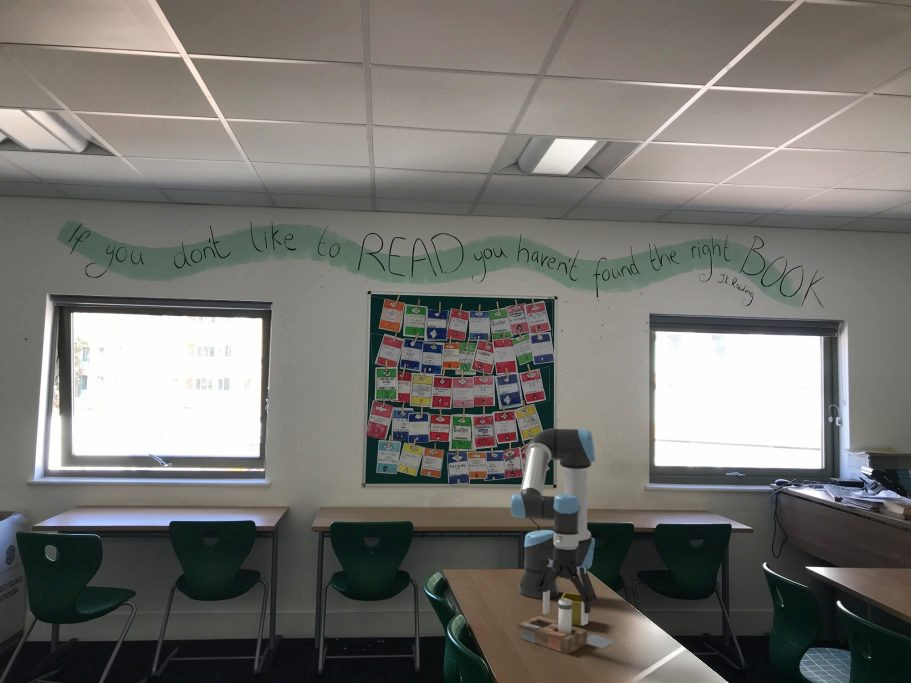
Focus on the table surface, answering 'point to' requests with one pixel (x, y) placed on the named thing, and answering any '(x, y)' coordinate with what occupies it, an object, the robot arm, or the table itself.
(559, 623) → the plug
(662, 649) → the table surface
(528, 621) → the socket block
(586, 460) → the robot arm
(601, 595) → the table surface
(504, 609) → the table surface
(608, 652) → the table surface
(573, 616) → the flower pot
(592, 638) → the mat
